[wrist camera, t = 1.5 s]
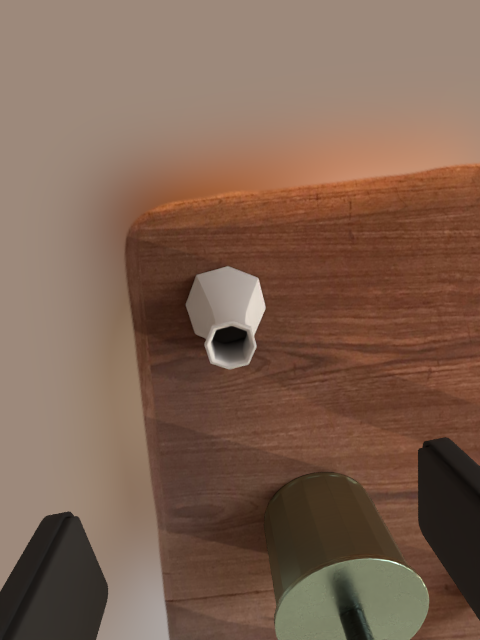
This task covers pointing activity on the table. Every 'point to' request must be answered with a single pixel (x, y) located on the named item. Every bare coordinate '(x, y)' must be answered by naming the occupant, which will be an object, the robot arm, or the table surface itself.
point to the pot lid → (353, 601)
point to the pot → (321, 526)
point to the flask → (226, 314)
